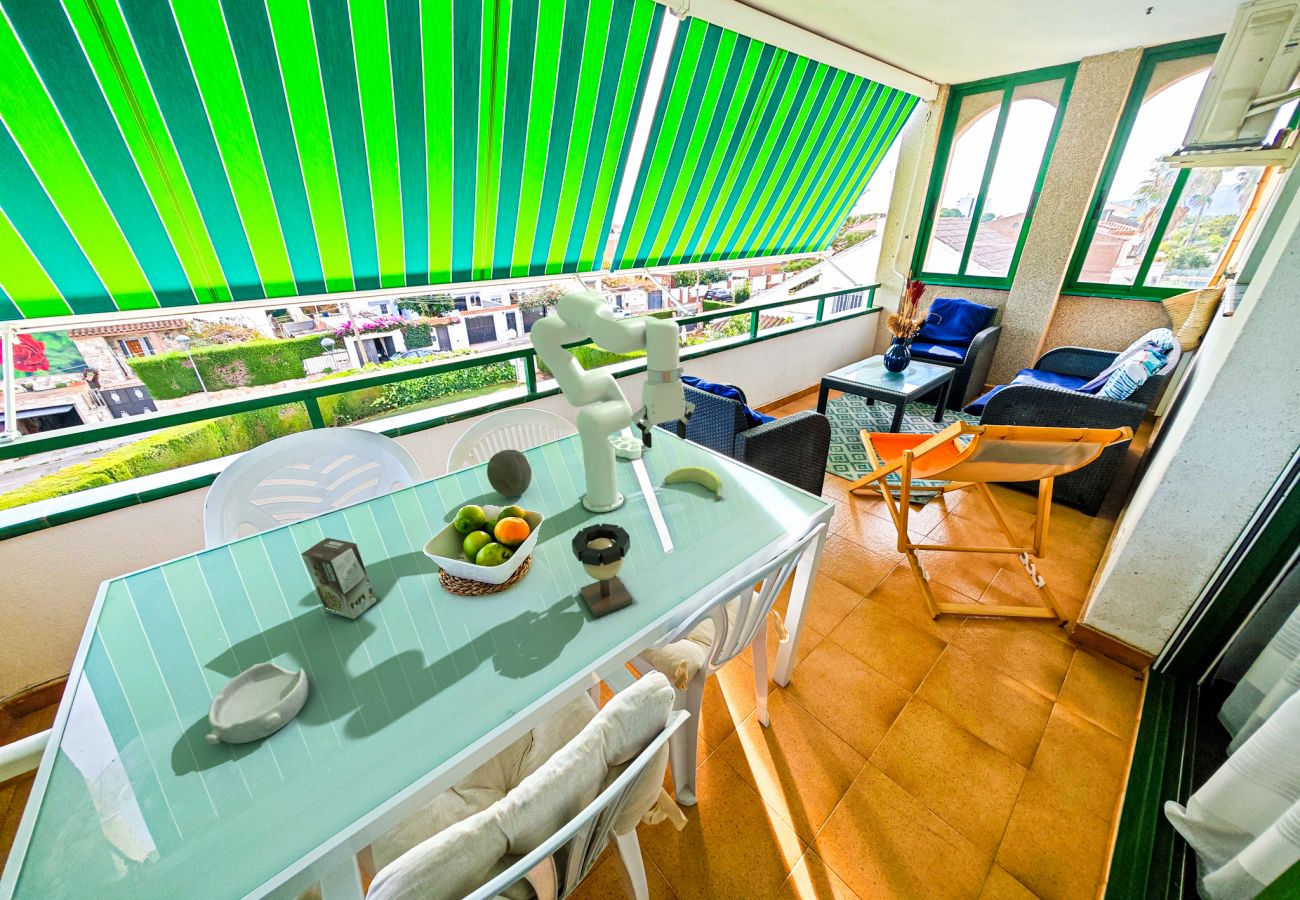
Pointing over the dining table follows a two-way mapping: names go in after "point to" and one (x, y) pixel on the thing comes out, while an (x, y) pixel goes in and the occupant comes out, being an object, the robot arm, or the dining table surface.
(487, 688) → the dining table surface
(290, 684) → the dish
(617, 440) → the white disc with holes
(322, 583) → the coffee box
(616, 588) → the ball stand
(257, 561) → the dining table surface
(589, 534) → the ring
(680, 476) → the banana
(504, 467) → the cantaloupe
